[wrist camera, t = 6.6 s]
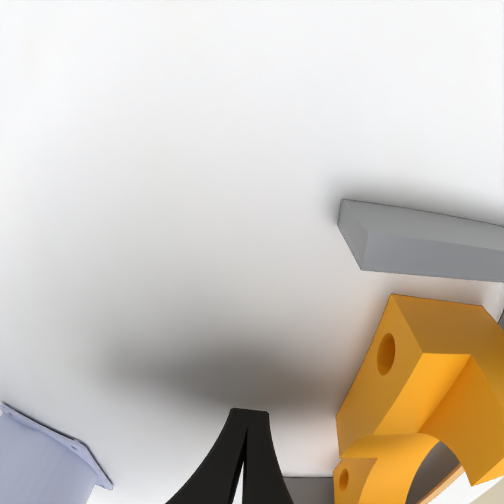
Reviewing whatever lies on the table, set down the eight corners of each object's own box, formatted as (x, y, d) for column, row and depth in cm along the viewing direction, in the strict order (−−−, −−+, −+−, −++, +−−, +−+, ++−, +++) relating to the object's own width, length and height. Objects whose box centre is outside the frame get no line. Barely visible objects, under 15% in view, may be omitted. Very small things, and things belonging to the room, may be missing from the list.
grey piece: (254, 512, 17) (247, 568, 12) (313, 195, 8) (356, 292, 3) (370, 510, 17) (375, 562, 12) (540, 235, 8) (631, 301, 3)
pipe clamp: (389, 291, 9) (468, 455, 3) (480, 304, 9) (567, 421, 3) (303, 468, 14) (301, 565, 8) (372, 468, 14) (382, 557, 8)
